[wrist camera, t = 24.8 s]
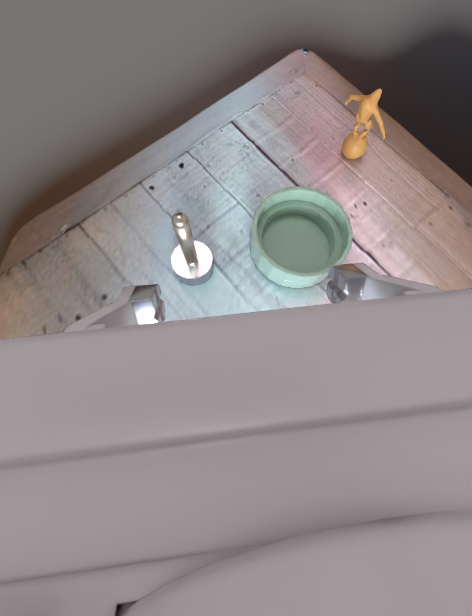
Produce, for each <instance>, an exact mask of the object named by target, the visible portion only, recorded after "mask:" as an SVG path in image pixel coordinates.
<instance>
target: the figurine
mask: <svg viewBox="0 0 472 616" xmlns="http://www.w3.org/2000/svg"><path fill="white" fill-rule="evenodd" d="M381 93H382V90H381V89H378V90H376V91H374V92H373V93H372V94H370V95H368V96H364V95H361V96H360V95H355V94H352V95H350V97H349V98H348V99H347V100H346V102H345V104H346V105H347V103H348V104H349V102H350V100H351V99H354V100H357V101H359V102H360V106H359V111H358V113H357V115H356V118H357V121H358V123H357V124H356V125H355V126H354V130H353V133H351V134H349V135H348V136H347V137H346V138H345V140H344V142H343V145H342V152H343V154H344V156H345V157H347V158H349V159H356V158H358V157H360V156H361V155H362V154H363V153H364V152H365V150H366V148H367V145H368V141H367V137H366V136H365V135H366V134H367V132H368V131H369V130H370V129H371V128H372V126H373V125H372V120H368V119H369V117H370V116H371V115H372V114H373V115H374V116H375V118H376V120H377V122H378V123H379V125H380V129H381V132H382V134H383V140H384V138H385V129H384V126H383V121H382V118H381V116H380V114H379V111H378V107H377V103H378V100H379V98H380V95H381ZM361 123H364V127H365V128H366V130H364V131H363V132H358V131H357V132H356V130H357V129H358V128H359V126H360V124H361Z"/></svg>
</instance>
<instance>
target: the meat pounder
mask: <svg viewBox="0 0 472 616" xmlns="http://www.w3.org/2000/svg"><path fill="white" fill-rule="evenodd" d="M172 224H173V227H174V230H175V233H176V235H177V238H178V241H179V245H178V246H177V247H176V248H175V249H174V251H173V252H172V255H171V265H172V268H173V270H174V272H175V274H176V276H177V277H178V279H179V280H180V281H181V282H183V283H185V284H187V285H192V286H195V285H200V284H203V283H205V282H206V281H207V280H208V279H209V278H210V277H211V275H212V273H213V269H214V265H213V257H212V253H211V251H210V249H209V248H208V247H207V246H206V245H205V244H204V243H202V242H199V241H195V240H193V236H192V232H191V228H190V224H189V220H188V217H187V216H186V215H185V214H184V213H182V212H178V213H175V214H174V215H173V217H172Z"/></svg>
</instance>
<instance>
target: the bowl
mask: <svg viewBox="0 0 472 616" xmlns="http://www.w3.org/2000/svg"><path fill="white" fill-rule="evenodd" d="M352 235H353V231H352V227H351V223H350V219H349V217H348V216H347V214H346V212H345V211H344V209H343V208H342V206H341V205H340V204H339V203H338V202H336V201H335V200H334V199H333V198H332V197H331V196H329V195H327V194H325V193H323V192H321V191H319V190H316V189H312V188H307V187H288V188H284V189H282V190H279V191H277V192H274V193H272V194H271V195H270V196H269V197H267V198H266V199H265V200H264V201H263V202H262V203H261V204H260V206H259V208H258V209H257V211H256V212H255V215H254V220H253V225H252V230H251V236H250V243H249V244H250V251H251V256H252V258H253V260H254V262H255V264H256V266H257V268H258V269H259V270H260V271H261V272H262V273H263V274H264V275H265V276H266V277H267V278H268V279H270V280H272V281H273V282H275V283H277V284H279V285H281V286H286V287H291V288H303V287H311V286H313V285H315V284H317V283H320V282H322V281H323V280H324V279H325V278H327V277H328V273H329V269H330V267H332V266H337V265H340V264H341V263H342V262H343V261H344V260H345V259H346V257H347V255H348V253H349V251H350V249H351V245H352Z"/></svg>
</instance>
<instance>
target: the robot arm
mask: <svg viewBox="0 0 472 616" xmlns="http://www.w3.org/2000/svg"><path fill="white" fill-rule="evenodd" d="M328 276H329V278H330V279H331V280H330V281H329V283H328V284H327V296H328V299H329V300H330V302H332V304H323V305H314V306H304V307H295V308H286V309H277V310H268V311H259V312H250V313H240V314H231V315H222V316H213V317H204V318H195V319H186V320H176V321H167V322H163V321H164V320H165V306H164V301H162V300H161V299H160V296H161V289H160V286H159V284H154V285H142V286H129V287H124V289H123V291H122V292H121V294H120V296H119V297H118V299H117V301H116V302H115V303H111V304H109V305H107V306H105V307H103V308H101V309H100V310H98V311H96V312H94V313H92V314H90V315H88V316H86V317H84V318H82V319H80V320H79V321H77V322H75V323H73V324H71V325H69V326H67V327H66V328H65V329H64V331H63V332H62V333H57V334H48V335H38V336H29V337H20V338H11V339H2V340H0V616H472V288H470V289H461V290H451V291H443V290H441V289H439V288H438V287H435V286H430V285H426V284H422V283H417V282H413V281H409V280H405V279H400V278H396V277H392V276H387V275H380V274H378V273H377V272H376V271H374V270H373V269H371V268H370V267H369V266H367V265H366V264H364V263H355V264H345V265H337V266H332V267H330V269H329V273H328Z"/></svg>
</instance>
